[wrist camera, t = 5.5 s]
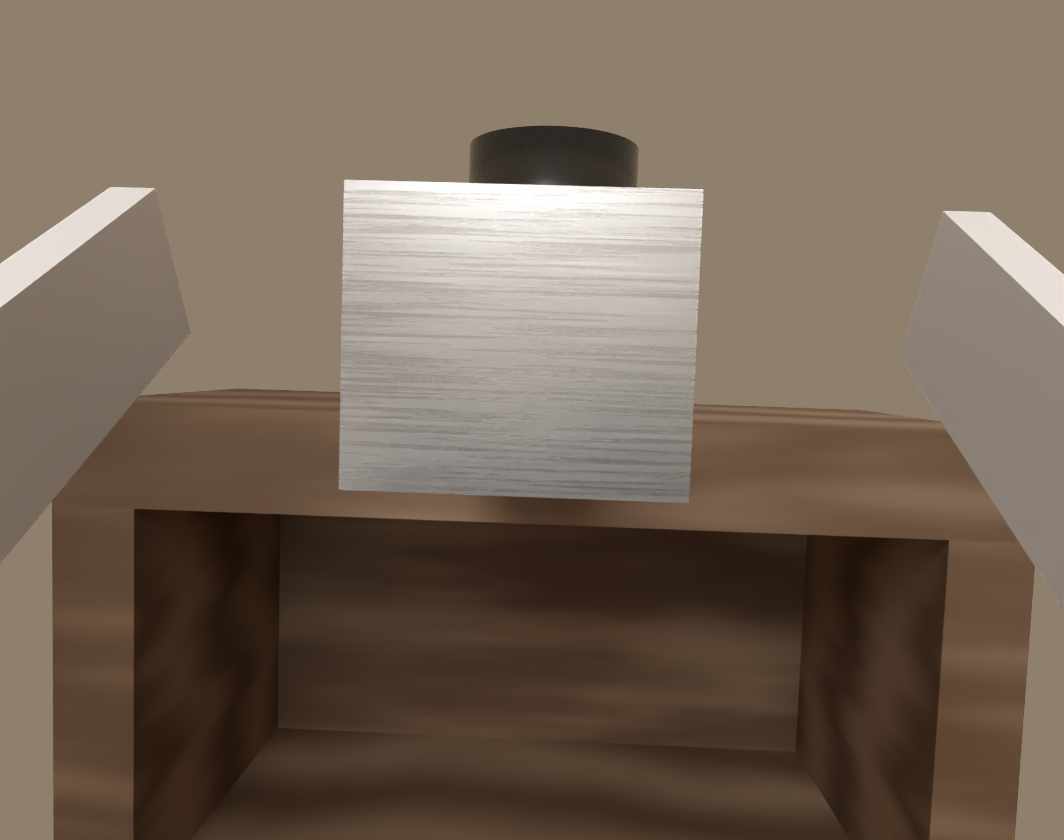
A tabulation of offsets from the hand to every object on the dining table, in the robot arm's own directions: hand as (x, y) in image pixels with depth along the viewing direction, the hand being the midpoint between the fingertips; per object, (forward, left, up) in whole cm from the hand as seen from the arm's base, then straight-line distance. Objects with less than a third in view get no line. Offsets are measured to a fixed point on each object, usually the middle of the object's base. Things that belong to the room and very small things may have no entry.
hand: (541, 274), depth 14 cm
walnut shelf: (-8, +14, -33) cm, 37 cm away
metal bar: (-5, +9, -3) cm, 10 cm away
